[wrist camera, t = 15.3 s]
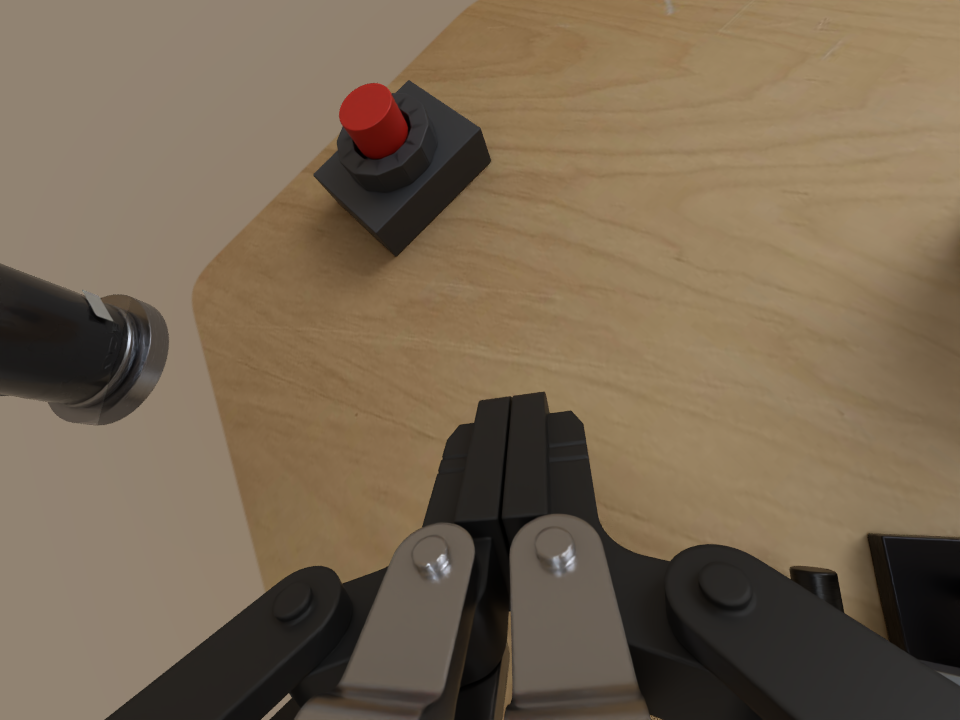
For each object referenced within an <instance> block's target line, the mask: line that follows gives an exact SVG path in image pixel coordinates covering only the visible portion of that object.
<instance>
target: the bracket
mask: <svg viewBox="0 0 960 720" xmlns="http://www.w3.org/2000/svg"><path fill="white" fill-rule="evenodd" d="M868 539H869V544H870V549H871V554H872V559H873V564H874V568H875V573H876V578H877V583H878V588H879V592H880V597H881V602H882V607H883V612H884V617H885V621H886V626H887V631H888V636H889V641H890V642H891V643H892V644H894V645H896V646H897V647H899V648H900V649H902V650H903V651H905V652H907V653H908V654H910V655H911V656H913V657H915V658H916V659H918V660H923V661H928V662H932V663H937V664H942V665H947V666H952V667H957V668H960V537H941V536H918V535H895V534H873V533H869V534H868Z"/></svg>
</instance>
